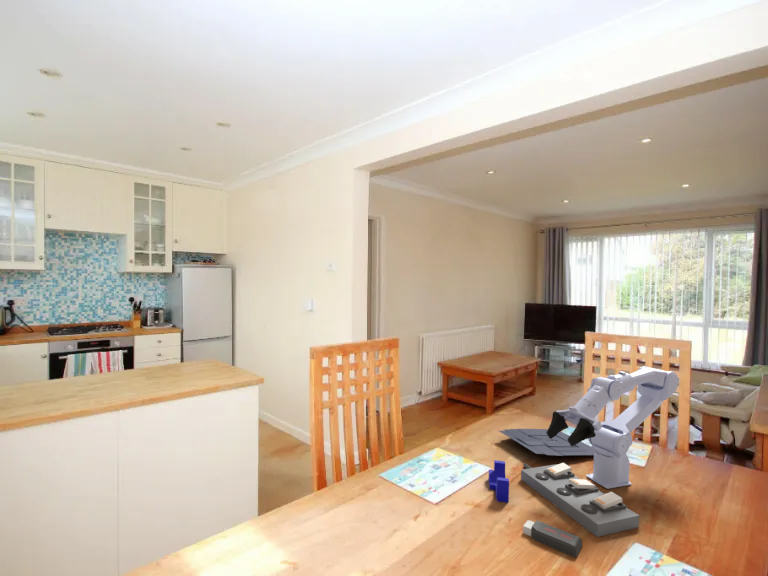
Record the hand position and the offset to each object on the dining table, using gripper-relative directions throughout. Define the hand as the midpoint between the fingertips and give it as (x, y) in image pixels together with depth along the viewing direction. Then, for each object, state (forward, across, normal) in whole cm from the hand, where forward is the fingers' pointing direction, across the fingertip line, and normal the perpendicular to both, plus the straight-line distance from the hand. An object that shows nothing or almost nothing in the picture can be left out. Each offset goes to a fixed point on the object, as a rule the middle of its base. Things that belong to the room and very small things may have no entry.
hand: (559, 439), depth 113 cm
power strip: (+6, -2, +15) cm, 16 cm away
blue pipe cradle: (+20, -10, +6) cm, 23 cm away
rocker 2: (+3, +11, +13) cm, 17 cm away
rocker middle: (+2, +2, +13) cm, 13 cm away
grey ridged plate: (-12, -28, +24) cm, 39 cm away
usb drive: (+23, +12, +6) cm, 27 cm away
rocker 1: (+1, -6, +12) cm, 14 cm away
